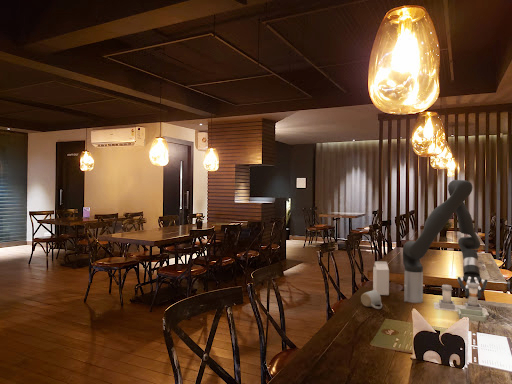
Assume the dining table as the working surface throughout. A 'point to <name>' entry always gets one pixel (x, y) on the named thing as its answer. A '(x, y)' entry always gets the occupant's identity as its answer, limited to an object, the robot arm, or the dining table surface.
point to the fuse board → (457, 306)
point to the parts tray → (473, 312)
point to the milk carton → (381, 278)
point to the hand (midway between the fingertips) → (473, 296)
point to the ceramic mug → (371, 299)
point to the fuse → (447, 293)
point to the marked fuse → (473, 294)
